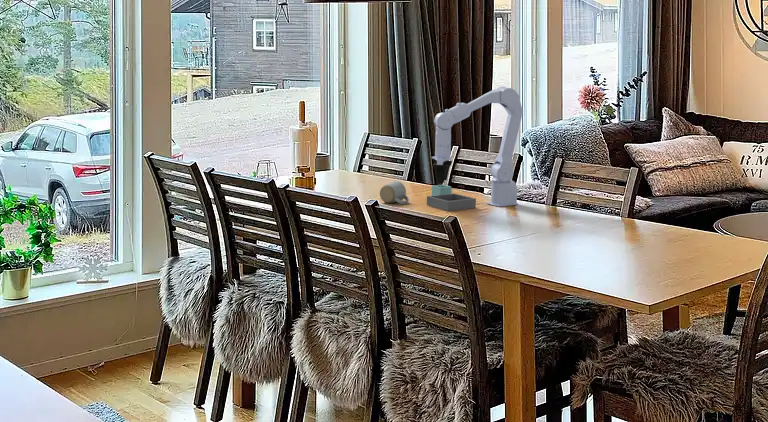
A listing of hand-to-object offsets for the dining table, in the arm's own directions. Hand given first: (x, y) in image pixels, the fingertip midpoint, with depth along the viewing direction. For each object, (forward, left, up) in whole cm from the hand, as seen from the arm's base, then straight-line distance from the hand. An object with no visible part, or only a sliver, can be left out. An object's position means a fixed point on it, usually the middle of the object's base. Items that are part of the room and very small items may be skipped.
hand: (442, 181), depth 352 cm
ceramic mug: (+11, -15, -10) cm, 21 cm away
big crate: (-2, +3, -9) cm, 10 cm away
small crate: (-7, -9, -9) cm, 15 cm away
